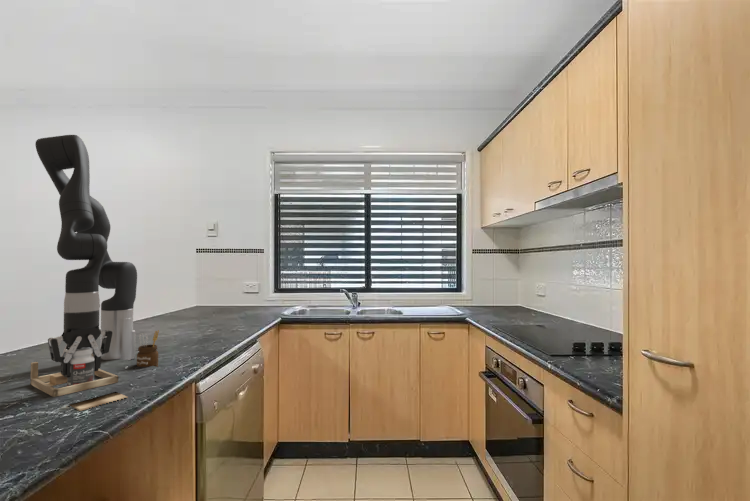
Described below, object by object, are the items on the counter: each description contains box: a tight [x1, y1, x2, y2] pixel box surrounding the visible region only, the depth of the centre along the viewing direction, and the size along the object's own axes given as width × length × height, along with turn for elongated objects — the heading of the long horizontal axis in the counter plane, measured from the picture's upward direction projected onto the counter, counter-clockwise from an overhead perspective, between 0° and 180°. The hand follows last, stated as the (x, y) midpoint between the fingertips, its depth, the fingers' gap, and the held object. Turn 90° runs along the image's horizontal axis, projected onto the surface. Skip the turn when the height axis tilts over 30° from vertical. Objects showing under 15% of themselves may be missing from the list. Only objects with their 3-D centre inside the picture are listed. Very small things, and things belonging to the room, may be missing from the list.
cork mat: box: [68, 391, 129, 412], centre depth 96 cm, size 10×10×1 cm
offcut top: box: [49, 372, 67, 386], centre depth 107 cm, size 7×3×2 cm, turn 152°
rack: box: [29, 354, 119, 398], centre depth 104 cm, size 14×16×7 cm
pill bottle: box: [66, 347, 95, 387], centre depth 103 cm, size 6×6×10 cm
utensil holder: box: [136, 330, 160, 368], centre depth 123 cm, size 6×6×12 cm
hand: (81, 373), depth 103 cm, fingers closed on pill bottle, 5 cm apart
